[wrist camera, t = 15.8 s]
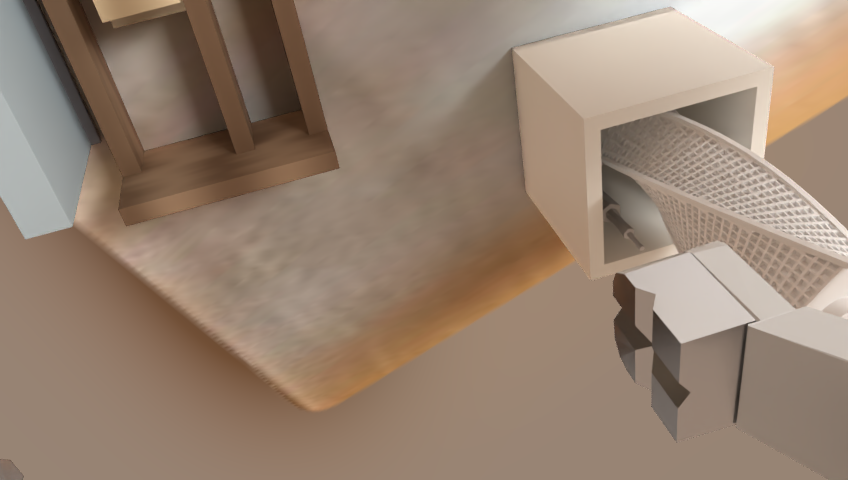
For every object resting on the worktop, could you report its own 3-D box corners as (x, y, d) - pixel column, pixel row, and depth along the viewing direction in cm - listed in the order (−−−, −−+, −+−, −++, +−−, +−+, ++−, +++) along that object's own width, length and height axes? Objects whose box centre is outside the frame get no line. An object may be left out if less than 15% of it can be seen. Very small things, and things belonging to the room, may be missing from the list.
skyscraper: (541, 70, 54) (796, 317, 31) (647, 38, 55) (970, 256, 32) (553, 171, 59) (780, 447, 36) (650, 140, 60) (932, 391, 37)
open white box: (670, 6, 55) (774, 66, 45) (666, 152, 62) (755, 231, 52) (511, 48, 53) (583, 118, 44) (525, 192, 60) (590, 280, 51)
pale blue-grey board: (-17, -84, 41) (-67, -37, 33) (91, 144, 49) (72, 226, 41) (-65, -73, 41) (-127, -23, 33) (51, 155, 49) (25, 239, 41)
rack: (238, -199, 41) (246, -187, 36) (323, 121, 53) (339, 168, 47) (-9, -146, 40) (-42, -125, 34) (132, 171, 51) (126, 226, 46)
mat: (-4, -87, 41) (-6, -86, 41) (101, 139, 50) (100, 142, 49) (-80, -70, 41) (-82, -69, 41) (38, 156, 49) (37, 158, 49)
